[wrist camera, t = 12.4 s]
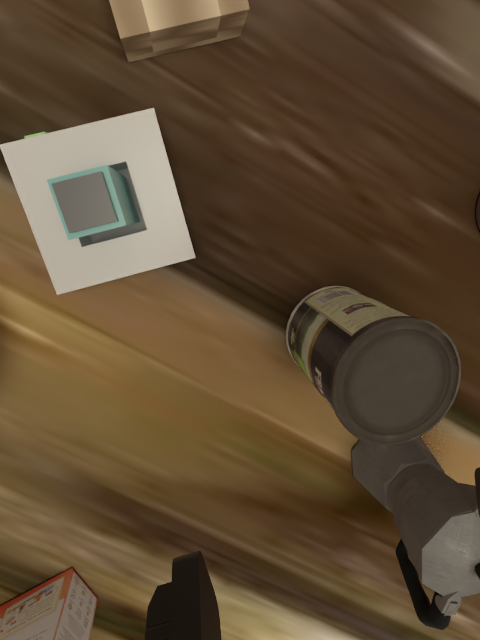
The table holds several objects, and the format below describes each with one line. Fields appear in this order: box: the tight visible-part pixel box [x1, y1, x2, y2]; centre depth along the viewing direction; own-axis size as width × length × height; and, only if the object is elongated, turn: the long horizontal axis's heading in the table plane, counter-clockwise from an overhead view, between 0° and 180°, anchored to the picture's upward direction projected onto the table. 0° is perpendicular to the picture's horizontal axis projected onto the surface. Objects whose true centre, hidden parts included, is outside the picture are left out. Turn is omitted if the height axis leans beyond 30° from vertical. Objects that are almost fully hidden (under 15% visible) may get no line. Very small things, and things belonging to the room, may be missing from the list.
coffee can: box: [286, 286, 461, 445], centre depth 37 cm, size 10×10×14 cm
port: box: [0, 108, 196, 295], centre depth 35 cm, size 12×12×5 cm
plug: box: [47, 165, 140, 240], centre depth 32 cm, size 4×4×11 cm
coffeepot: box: [352, 436, 480, 630], centre depth 41 cm, size 15×9×18 cm, turn 164°
